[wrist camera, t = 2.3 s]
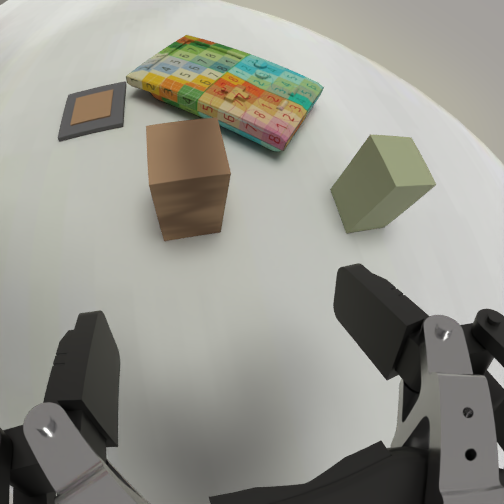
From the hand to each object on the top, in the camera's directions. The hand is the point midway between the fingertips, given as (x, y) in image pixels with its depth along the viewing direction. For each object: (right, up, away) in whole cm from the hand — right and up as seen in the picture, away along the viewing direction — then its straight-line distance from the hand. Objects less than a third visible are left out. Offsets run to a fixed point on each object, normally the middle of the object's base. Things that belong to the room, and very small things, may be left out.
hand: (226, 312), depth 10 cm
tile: (-18, +19, +19) cm, 32 cm away
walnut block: (-5, +6, +17) cm, 18 cm away
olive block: (+12, +7, +20) cm, 24 cm away
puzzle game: (-3, +20, +23) cm, 31 cm away
